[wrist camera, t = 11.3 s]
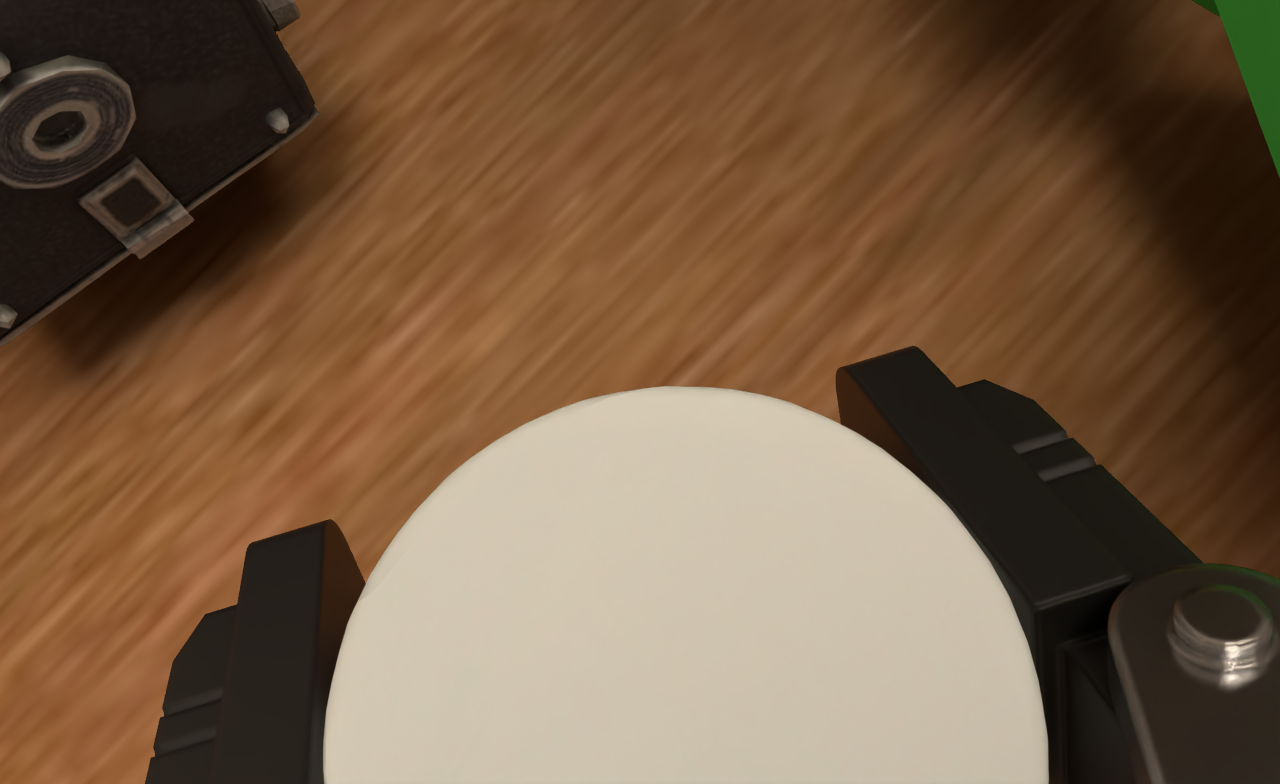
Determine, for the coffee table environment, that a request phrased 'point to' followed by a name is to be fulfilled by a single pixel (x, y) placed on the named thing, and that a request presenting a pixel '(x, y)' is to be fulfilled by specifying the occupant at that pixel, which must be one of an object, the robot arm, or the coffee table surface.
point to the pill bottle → (684, 614)
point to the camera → (127, 130)
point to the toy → (1256, 57)
